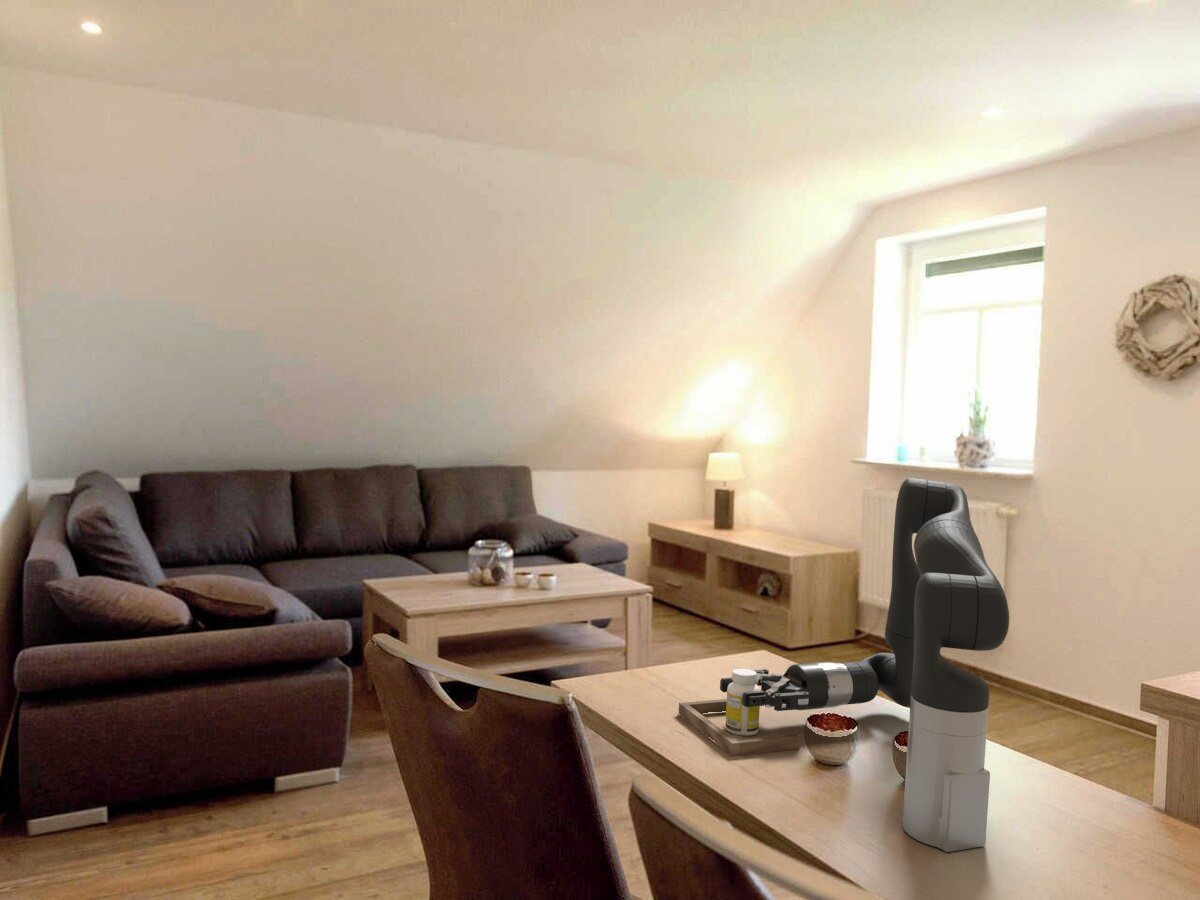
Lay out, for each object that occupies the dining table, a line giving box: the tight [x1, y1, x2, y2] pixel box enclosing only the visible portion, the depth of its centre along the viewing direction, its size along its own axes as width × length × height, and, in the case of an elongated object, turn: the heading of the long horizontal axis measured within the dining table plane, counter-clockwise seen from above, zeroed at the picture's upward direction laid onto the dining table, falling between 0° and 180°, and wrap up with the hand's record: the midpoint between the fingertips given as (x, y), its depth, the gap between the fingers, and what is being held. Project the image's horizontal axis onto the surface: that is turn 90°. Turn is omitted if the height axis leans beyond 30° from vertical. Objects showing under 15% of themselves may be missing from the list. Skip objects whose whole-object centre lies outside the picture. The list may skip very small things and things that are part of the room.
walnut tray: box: [678, 698, 801, 757], centre depth 151 cm, size 19×12×2 cm, turn 20°
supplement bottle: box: [725, 668, 761, 737], centre depth 151 cm, size 5×5×10 cm
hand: (732, 692), depth 150 cm, fingers open, 7 cm apart
